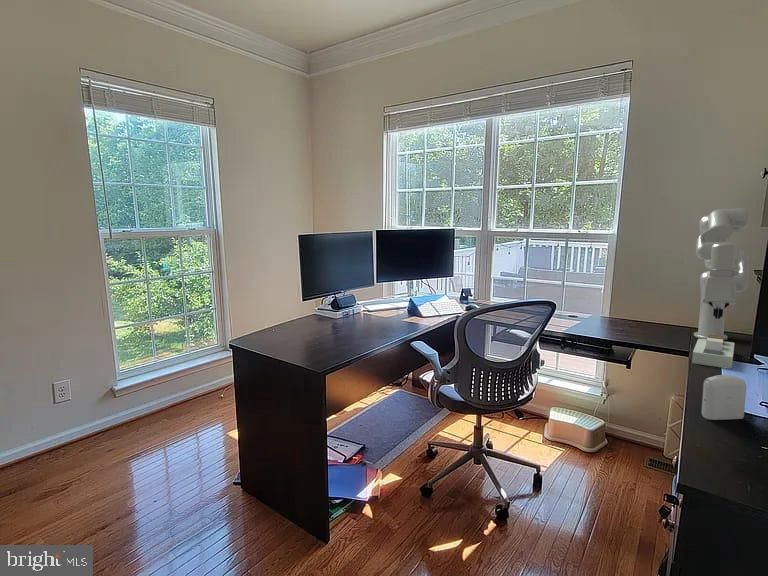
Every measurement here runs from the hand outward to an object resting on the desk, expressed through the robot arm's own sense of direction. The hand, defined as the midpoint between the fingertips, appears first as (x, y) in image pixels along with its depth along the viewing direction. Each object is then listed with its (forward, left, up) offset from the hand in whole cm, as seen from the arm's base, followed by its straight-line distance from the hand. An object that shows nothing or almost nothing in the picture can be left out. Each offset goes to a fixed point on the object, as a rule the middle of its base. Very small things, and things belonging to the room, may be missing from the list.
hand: (717, 318), depth 173 cm
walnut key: (-1, 0, -12) cm, 12 cm away
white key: (+7, 0, -12) cm, 14 cm away
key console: (+7, 0, -15) cm, 17 cm away
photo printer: (+70, +5, -15) cm, 72 cm away
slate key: (+15, 0, -13) cm, 20 cm away
